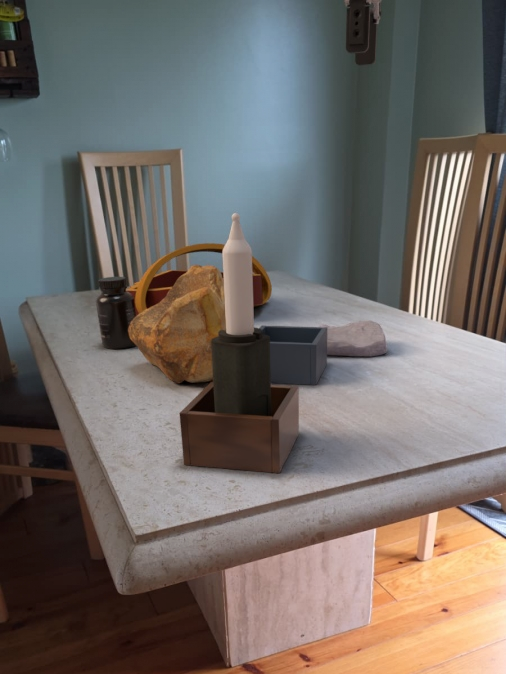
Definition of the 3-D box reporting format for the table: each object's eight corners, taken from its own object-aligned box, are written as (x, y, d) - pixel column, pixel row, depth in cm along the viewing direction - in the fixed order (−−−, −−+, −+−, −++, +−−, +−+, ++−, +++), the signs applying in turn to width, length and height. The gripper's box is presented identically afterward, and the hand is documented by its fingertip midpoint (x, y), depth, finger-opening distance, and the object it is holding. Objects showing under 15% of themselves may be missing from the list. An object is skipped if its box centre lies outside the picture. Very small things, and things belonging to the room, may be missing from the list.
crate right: (326, 364, 99) (327, 327, 97) (316, 385, 90) (316, 344, 88) (262, 361, 102) (261, 325, 99) (245, 381, 93) (244, 342, 90)
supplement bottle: (129, 338, 119) (121, 274, 114) (145, 345, 114) (138, 278, 109) (95, 344, 116) (86, 278, 111) (111, 351, 110) (102, 283, 106)
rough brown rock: (146, 354, 111) (129, 269, 105) (238, 343, 111) (227, 257, 104) (123, 402, 90) (100, 300, 84) (236, 389, 90) (222, 285, 83)
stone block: (390, 365, 103) (376, 339, 112) (392, 339, 101) (378, 314, 109) (319, 371, 103) (311, 344, 111) (319, 345, 100) (311, 319, 108)
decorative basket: (239, 303, 158) (231, 241, 154) (309, 302, 134) (301, 229, 130) (114, 325, 142) (101, 257, 137) (168, 329, 118) (154, 247, 113)
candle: (248, 462, 67) (239, 215, 57) (212, 451, 70) (198, 214, 60) (276, 446, 71) (272, 211, 60) (241, 436, 74) (231, 210, 63)
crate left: (298, 434, 74) (298, 386, 71) (279, 473, 64) (278, 419, 62) (213, 428, 76) (211, 381, 74) (183, 465, 67) (179, 413, 64)
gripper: (405, -184, 52) (393, 45, 59) (410, -116, 64) (400, 66, 71) (317, -169, 54) (315, 51, 60) (338, -106, 66) (335, 70, 73)
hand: (361, 59), depth 66 cm, fingers open, 8 cm apart
